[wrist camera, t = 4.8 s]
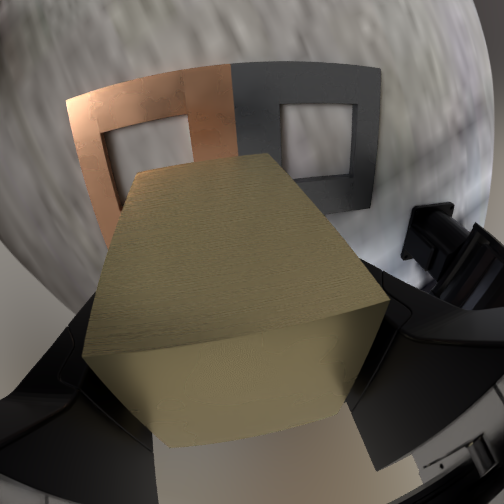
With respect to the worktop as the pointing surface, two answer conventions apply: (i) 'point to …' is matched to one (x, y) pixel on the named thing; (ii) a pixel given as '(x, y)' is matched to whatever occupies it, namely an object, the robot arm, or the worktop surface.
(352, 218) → the worktop surface
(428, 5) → the worktop surface
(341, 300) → the wooden block
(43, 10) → the worktop surface
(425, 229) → the robot arm
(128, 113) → the frame with rectangular openings
